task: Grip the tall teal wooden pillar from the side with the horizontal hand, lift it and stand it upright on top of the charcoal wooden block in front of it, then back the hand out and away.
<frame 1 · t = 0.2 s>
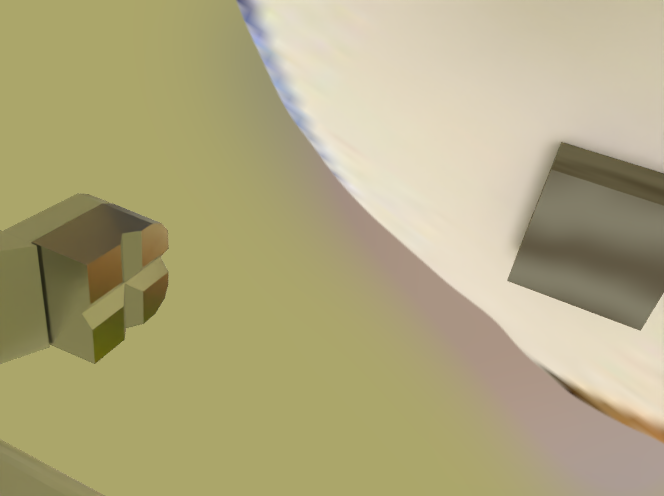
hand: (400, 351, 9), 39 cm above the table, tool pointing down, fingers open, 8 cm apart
charcoal block: (604, 218, 48), on the table
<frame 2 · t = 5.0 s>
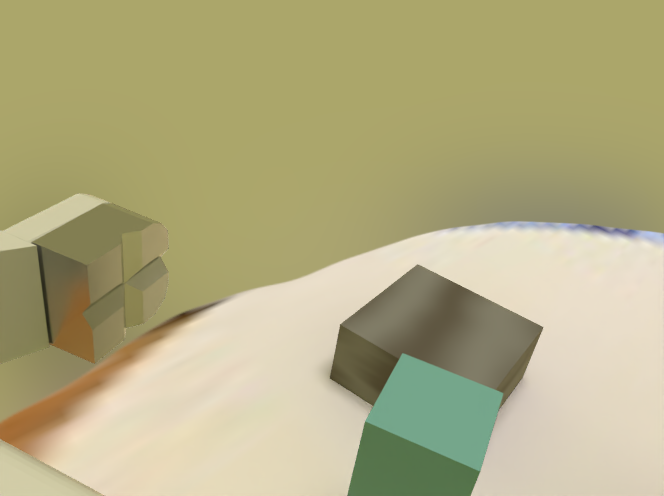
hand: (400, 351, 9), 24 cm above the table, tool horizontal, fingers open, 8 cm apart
charcoal block: (428, 380, 44), on the table
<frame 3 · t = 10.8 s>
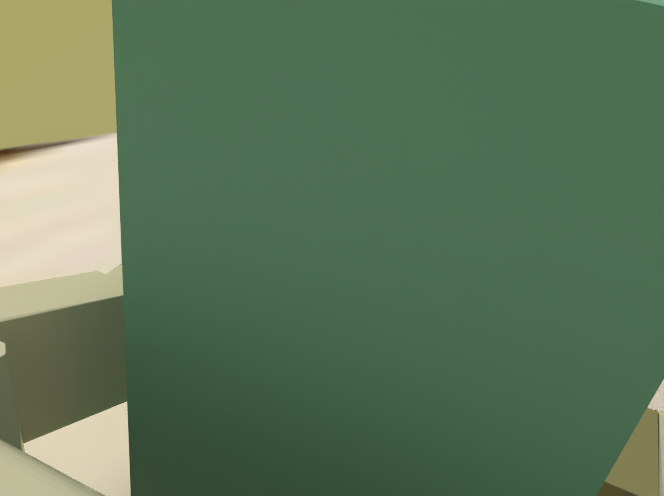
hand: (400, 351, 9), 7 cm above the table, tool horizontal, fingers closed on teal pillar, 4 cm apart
when the fingers open (13 cm above the table, at t = 18.3 s): teal pillar drops 2 cm, resting on charcoal block.
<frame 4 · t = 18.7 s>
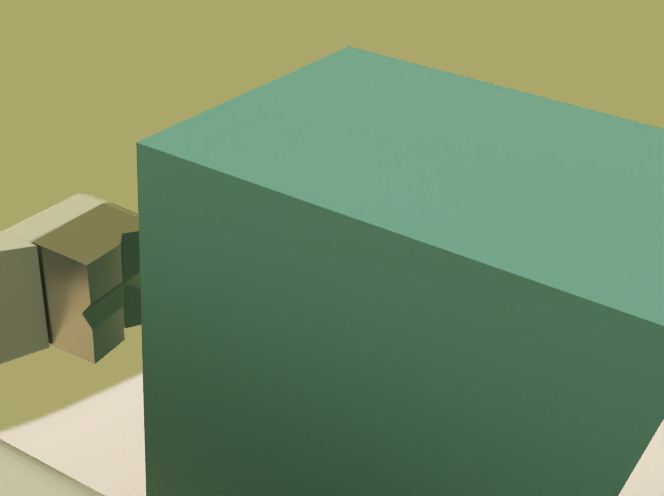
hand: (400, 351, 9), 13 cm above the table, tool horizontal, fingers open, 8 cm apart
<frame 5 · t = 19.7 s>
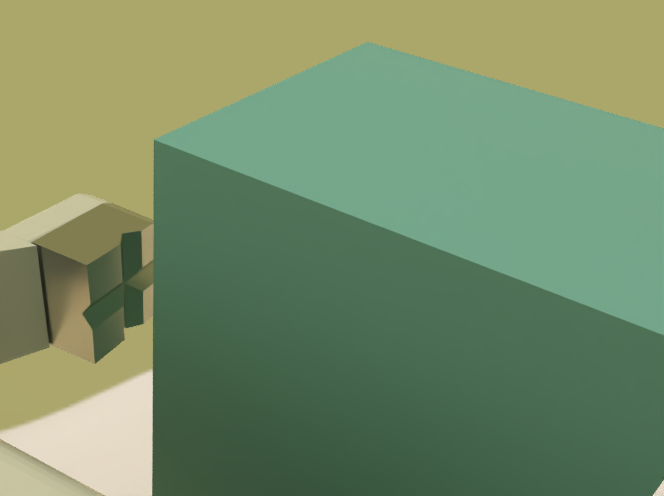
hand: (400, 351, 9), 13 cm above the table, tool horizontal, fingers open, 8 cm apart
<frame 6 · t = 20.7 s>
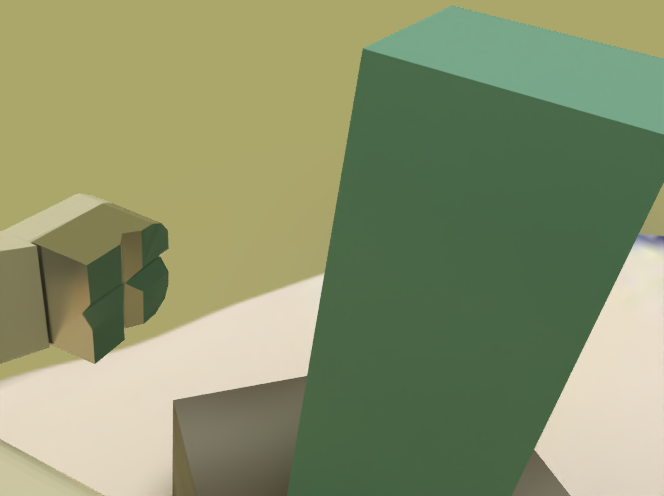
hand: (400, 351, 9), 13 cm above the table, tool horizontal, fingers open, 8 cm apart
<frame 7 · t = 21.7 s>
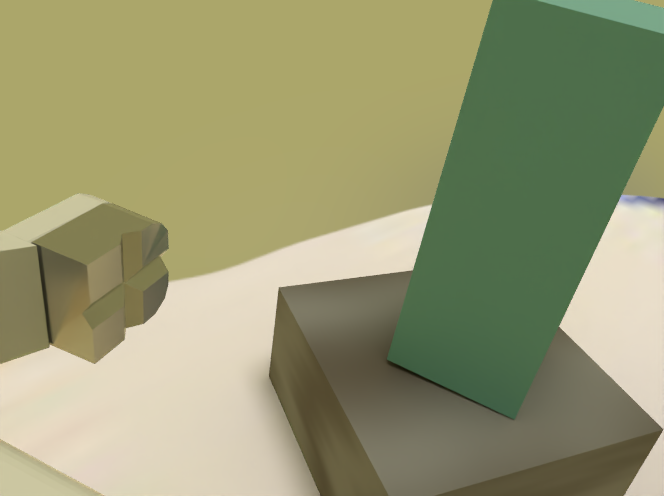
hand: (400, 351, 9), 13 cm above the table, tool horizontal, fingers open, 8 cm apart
charcoal block: (425, 446, 25), on the table, touching teal pillar
teal pillar: (467, 351, 23), point 5 cm above the table, touching charcoal block
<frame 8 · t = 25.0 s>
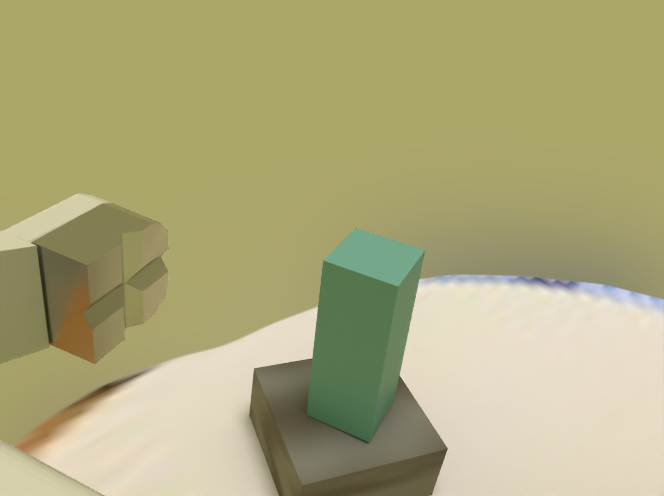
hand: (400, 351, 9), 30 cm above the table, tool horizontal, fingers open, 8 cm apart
charcoal block: (336, 456, 45), on the table
teal pillar: (351, 406, 42), point 5 cm above the table
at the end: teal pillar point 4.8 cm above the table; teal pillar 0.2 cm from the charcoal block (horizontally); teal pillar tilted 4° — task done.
